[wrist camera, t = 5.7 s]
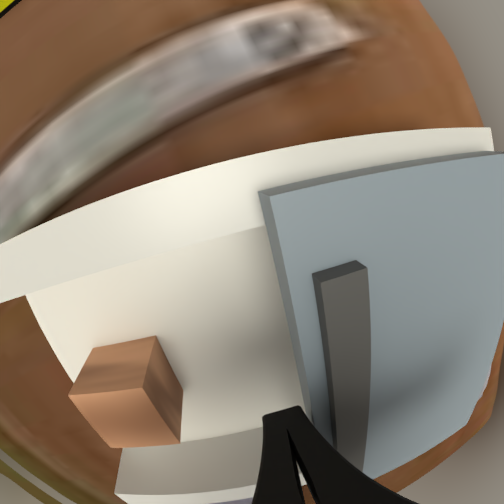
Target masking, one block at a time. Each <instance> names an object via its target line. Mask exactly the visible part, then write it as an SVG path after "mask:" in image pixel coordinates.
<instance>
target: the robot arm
mask: <svg viewBox="0 0 504 504" xmlns="http://www.w3.org/2000/svg"><path fill="white" fill-rule="evenodd" d="M262 422H263V444H262V454H261V463H260V469H259V474H258V479H257V484H256V489H255V493H254V496H253V497H252V498H246V499H240V500H234V501H227V502H219V503H209V504H305V501H304V496H303V491H302V486H301V481H300V476H299V471H298V466H299V468H300V470H301V473H302V475H303V477H304V479H305V481H306V483H307V486H308V488H309V490H310V492H311V494H312V496H313V499H314V501H315V503H316V504H418V503H416V502H414V501H411V500H409V499H407V498H404V497H403V496H400V495H399V494H397V493H395V492H393V491H391V490H389V489H388V488H386V487H384V486H382V485H381V484H379V483H377V482H376V481H374V480H373V479H371V478H370V477H368V476H367V475H365V474H364V473H363V472H361V471H360V470H359V469H357V468H356V467H355V466H354V465H352V464H351V463H350V462H349V461H348V460H346V459H345V458H344V457H343V456H342V455H341V454H340V453H339V452H338V451H336V450H335V449H334V448H333V447H332V446H331V445H330V443H329V442H328V441H327V440H326V439H325V438H324V437H323V436H322V435H321V434H320V433H319V432H318V430H317V429H316V428H315V427H314V425H313V424H312V423H311V421H310V420H309V419H308V417H307V416H306V414H305V413H304V411H303V409H302V407H301V406H298V405H296V406H293V407H290V408H287V409H283V410H280V411H276V412H272V413H269V414H265V415H264V416H263V417H262ZM296 461H297V462H296ZM297 464H298V466H297Z"/></svg>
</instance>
